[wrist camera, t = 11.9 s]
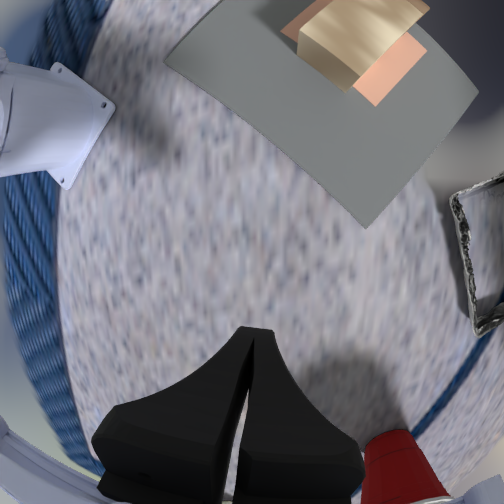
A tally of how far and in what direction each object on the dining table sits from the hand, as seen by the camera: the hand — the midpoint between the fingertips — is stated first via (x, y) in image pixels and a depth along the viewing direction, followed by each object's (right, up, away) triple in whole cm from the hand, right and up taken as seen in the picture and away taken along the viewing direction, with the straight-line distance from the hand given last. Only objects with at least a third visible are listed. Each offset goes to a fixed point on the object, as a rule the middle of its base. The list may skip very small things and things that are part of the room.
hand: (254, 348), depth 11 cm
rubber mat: (+5, +17, +4) cm, 18 cm away
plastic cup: (+15, -18, +14) cm, 28 cm away
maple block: (+4, +15, +2) cm, 15 cm away
